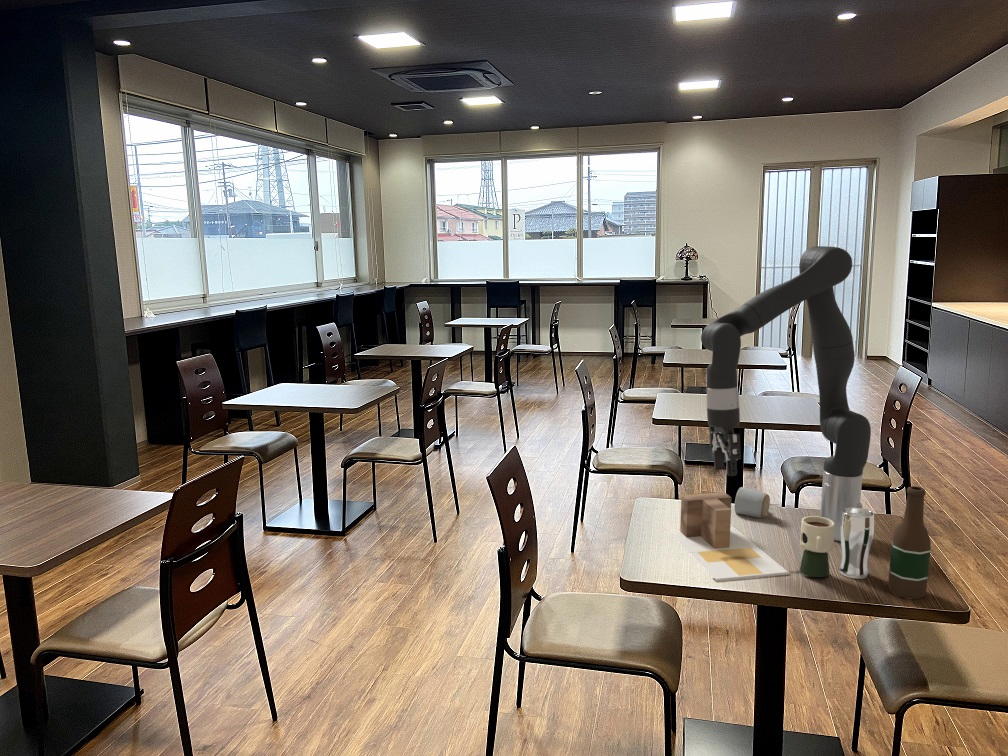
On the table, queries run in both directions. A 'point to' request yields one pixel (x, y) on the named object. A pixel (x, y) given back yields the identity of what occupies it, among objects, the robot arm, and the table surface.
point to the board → (730, 557)
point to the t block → (707, 518)
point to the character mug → (816, 545)
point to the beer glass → (856, 541)
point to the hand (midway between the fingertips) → (725, 471)
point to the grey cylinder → (752, 503)
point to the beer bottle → (910, 550)
